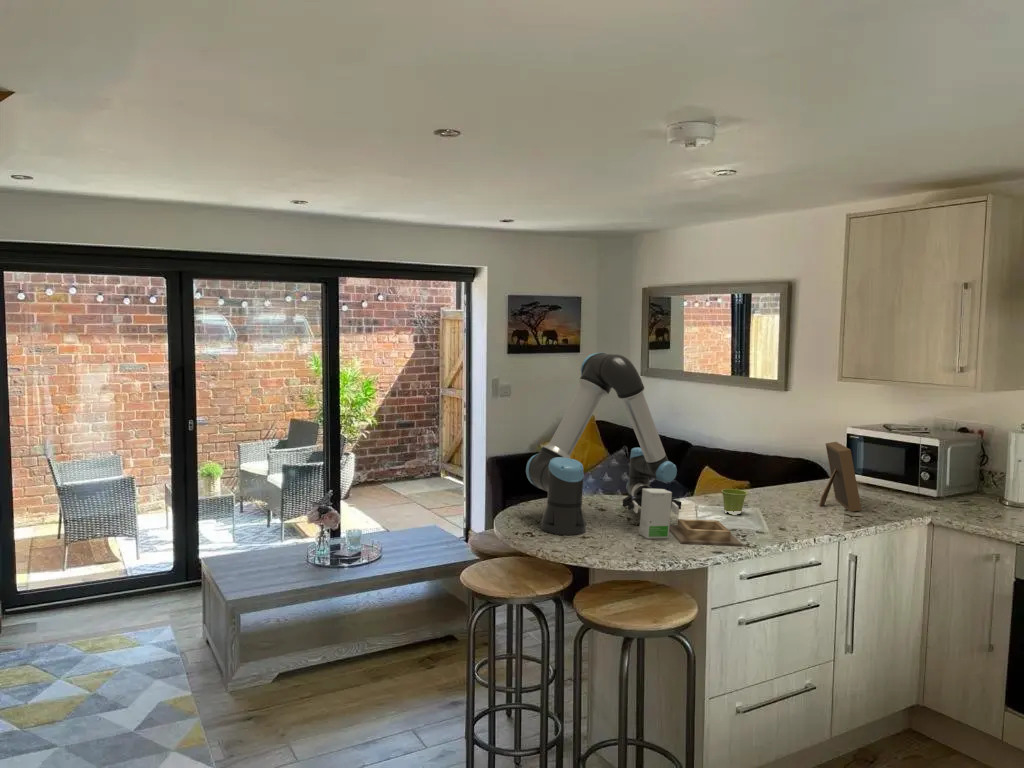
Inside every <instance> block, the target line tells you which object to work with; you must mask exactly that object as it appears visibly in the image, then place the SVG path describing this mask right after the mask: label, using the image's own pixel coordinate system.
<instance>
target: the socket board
mask: <svg viewBox="0 0 1024 768" xmlns="http://www.w3.org/2000/svg"><path fill="white" fill-rule="evenodd" d="M669 533H671V535H673V537H674V538H675V539H676V540H677V541H678V543H679V544H680V545H703V546H704V545H705V546H724V547H726V546H730V547H731V546H732V547H743V543H742V542H741V541H740V540H739V539H738V538H737V537H735V536H734V535H733V534H732V533H731V531H730V530H729V529H728V527H726V526H725V525H724V524H723V523H721V522H720V521H719V520H713V519H712V520H707V519H684V518H682V519H681V518H678V519H677V525H675V524H674V525H673V524H672V525H671V524H670V526H669Z"/></svg>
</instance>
